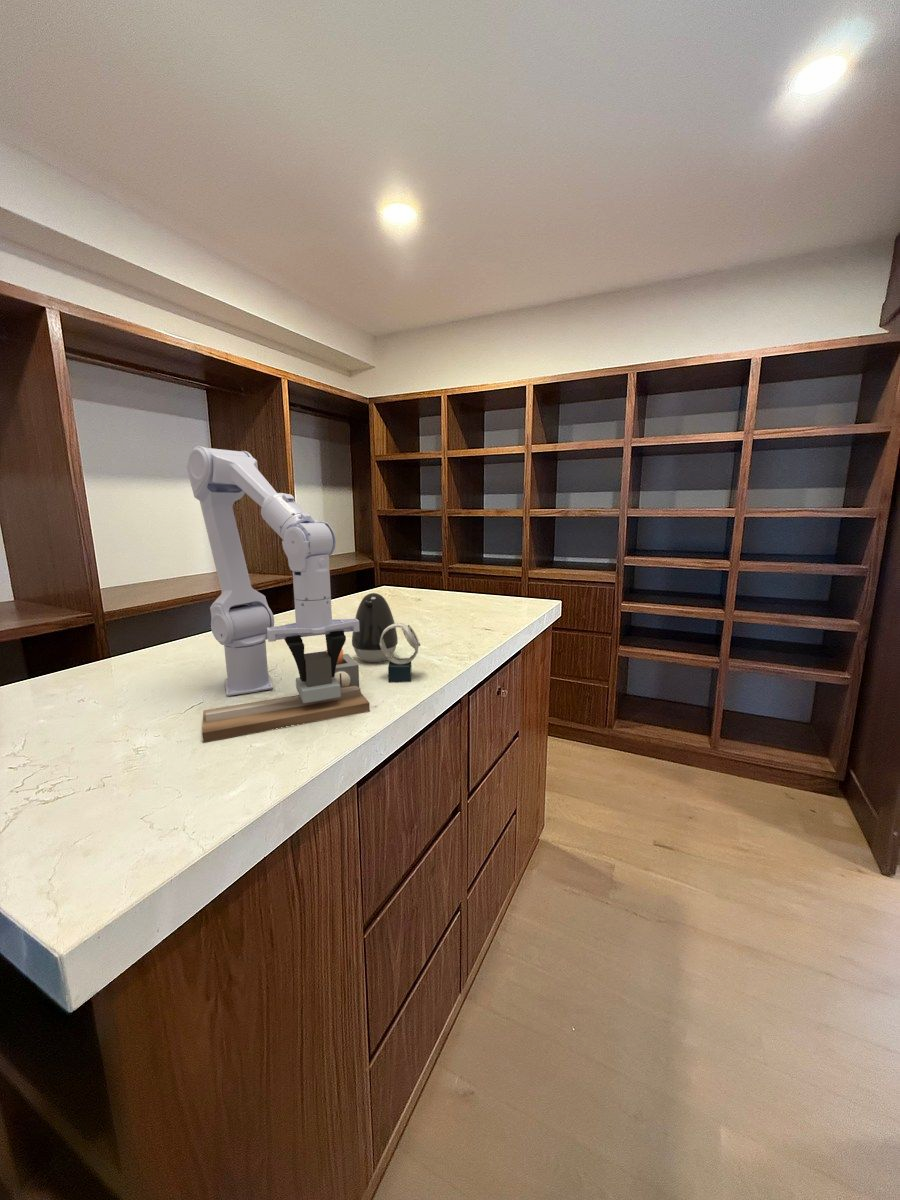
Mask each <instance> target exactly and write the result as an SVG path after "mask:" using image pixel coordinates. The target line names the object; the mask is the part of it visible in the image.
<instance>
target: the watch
mask: <svg viewBox="0 0 900 1200" xmlns="http://www.w3.org/2000/svg"><path fill="white" fill-rule="evenodd" d="M392 628H396V629H397V628H400V629H401V631H402V632H403V635H404V637H405V639H406V641H407V642H408V644H409V645H410V647H412V648H413V649H414V652H413V654H412V655H411V656H410V657H406V658H405V657H404V658H403V657H402V658H401V657H400V658H398V657H397V658H395V657H393V655H391V654H390V652H389V651H388V649H387V648H386V645H385V643H384V639H383V635H384V634H385V633H386V631H388V630H389V629H392ZM419 647H421V642H420V640H419V638H418V636H417V634H416V632H415V631H414V629H413V628H412V626H410V625H409V624H407V625H406V624H405V623H402V622H400V623H399V622H395V624H392V625H390V626H388V627H387V628H386V629H385V630H384V631H383V633H382V635H381V638H380V648H381V650H382V652H383V654H384V656H385V657H386V659H387V660H386V661H387V662H388V663H389V664H388V666H387V669H388V670H387V671H388V673H387V674H388V675H387V676H388V683H411V681H412V673H413V672H412V661H414V659H415V658H416V657H417V654H418V653H419Z"/></svg>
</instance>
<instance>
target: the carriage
mask: <svg viewBox="0 0 900 1200" xmlns="http://www.w3.org/2000/svg"><path fill="white" fill-rule="evenodd" d="M304 664H305V671H306V681H304V682H302V681H301V679H300V676H297V677H295V684H296V685H295V686H296V690H297V693H298V695H300V697H301V699H302V702H303V703H308V702H314V701H320V700H325V699H331V698H337V697H341V690H340V684H339V683H338V682H337V680H336V679H335V677H332V671H331V657H330V656H329V654H328V653H327V652H326V650H323V651H315V652H314V651H313V652H310V653H304Z"/></svg>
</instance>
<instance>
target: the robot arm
mask: <svg viewBox="0 0 900 1200" xmlns="http://www.w3.org/2000/svg"><path fill="white" fill-rule="evenodd" d="M186 470H187V473H188V477H189V481H190V486H191V489H192V494H193V497H194V498H195V500H197V501H199V504H200V508H201V512H202V515H203V516H202V517H203V520H204V524H205V529H206V534H207V536H208V541H209V545H210V550H211V553H212V557H213V562H214V565H215V570H216V574H217V578H218V582H219V586H220V591H221V594H220V595H219V596H218V597H217V598H216V599H215V600H214V601H213V602H212V604H211V606H210V607H209V610H210V617H211V618H210V620H211V621H210V627H211V633H212V635H213V637H214V639H215V640H216V641H217V642H218V643H219V644H220V645H223V647H224V656H225V657H224V658H225V667H226V678H225V679H224V682H225V694H226V697H231V696H236V695H243V694H250V693H256V692H264V691H269V690H273V689H274V687H273V684H272V680H271V677H270V675H269V669H268V668H269V667H268V656H267V642H266V640H268V642H269V643H273V642H276V641H279V640H280V641H281V640H284V642H285V643H286V645H287V647H288V648H289V650H290V652H291V654H292V656H293V659H294V661H295V663H296V667H297V669H298V675H299V677H300V679H301V681H302V682H304V681H306V671H305V664H304V654H305V644H304V642H303V638H307V637H316V636H324V637H325V644H326V650H327V653H328V654H329V656H330V657H331V671H332V677H335V669H336V664H337V661H338V657H339V654H340V652H341V649H343V647H344V645H345V644H346V640H347V637H346V634H345V633H349V632H352V633H353V632H359V620H357V619H356V618H347V619H346V618H345V619H344V618H342V619H340V618H339V619H333V616H332V615H333V612H332V594H331V593H332V591H331V575H330V574H331V573H330V572H331V571H330V556H331V555H333V553H334V552H335V550H336V547H337V546H336V545H337V538H336V533H335V531H334V529H333V527H332V526H331V525H330V523H329V522H327V521H323V520H322V521H318V520H317V519H314V518H312V516H311V515H310V513H309V512H306V510H305V509H303V508H302V507H301V505H299V504H298V502H296V501H295V497H294V496H293V495H292V494H290V493H285V492H284V493H283V492H277V491H276V490H275V489H274V487H273V485H272V484H270V483H269V481H268V480H267V479H266V478H265V476H264V475H263V474H262V473H261V472H260V470H259V467H258V460H257V459H256V458H254V457H253V456H252V454H251V453H250V452H249V451H246V450H241V451H239V450H231V449H230V450H229V449H223V448H222V449H221V448H220V449H218V448H210V447H205V446H202V445H201V446H200V445H197V446H194V448H193V449H192V450H191V452H190V454H189V457H188V460H187V464H186ZM245 494H246V495H247V496H248V497H249V498H250V499H252V500H253V501H254V502H255V503H256V504H257V505H259V507H261V508H260V514H261V518H262V519H263V520H264V521H265V523H266V524H267V525H269V527H271V529H272V530H273V531H274V532H275V533H276V534H277V535H278V536H279V537H280V538H281V539H282V541H281V545H282V549H283V551H284V554H285V555H286V557H287V562H288V567H289V570H290V571H292V583H293V586H292V587H293V598H294V600H293V601H294V602H293V603H294V613H295V622H294V623H288V624H283V625H278V626H277V625H276V626H274V625H275V617H274V613H273V612H272V610H271V608H270V606H269V604H268V601H267V599H266V595H264V594H263V593H261V592H259V591H258V590H256V589H255V588H253V586H252V583H251V580H250V575H249V571H248V567H247V563H246V558H245V555H244V550H243V547H242V542H241V537H240V533H239V529H238V525H237V522H236V517H235V513H234V509H233V507H234V503H235V502H237V501H239V500H241V499H242V498H243V496H244V495H245ZM240 606H241V607H240ZM233 607H234V608H233ZM235 607H236V608H235ZM231 608H232V609H231Z"/></svg>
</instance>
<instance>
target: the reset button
mask: <svg viewBox="0 0 900 1200" xmlns="http://www.w3.org/2000/svg"><path fill="white" fill-rule="evenodd" d="M325 651H326V652H327V649H325ZM343 654H344V650H343V648H342V649H341V652H340V654H339V657H338V661H337V664H336V665H338V664H342V663H343Z"/></svg>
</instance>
